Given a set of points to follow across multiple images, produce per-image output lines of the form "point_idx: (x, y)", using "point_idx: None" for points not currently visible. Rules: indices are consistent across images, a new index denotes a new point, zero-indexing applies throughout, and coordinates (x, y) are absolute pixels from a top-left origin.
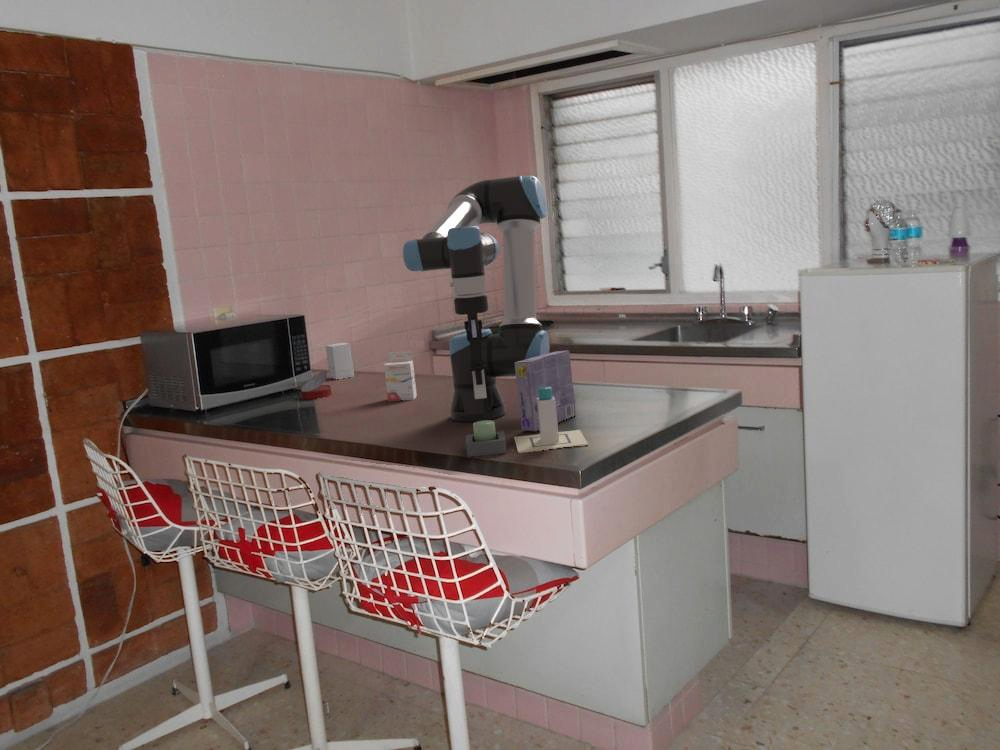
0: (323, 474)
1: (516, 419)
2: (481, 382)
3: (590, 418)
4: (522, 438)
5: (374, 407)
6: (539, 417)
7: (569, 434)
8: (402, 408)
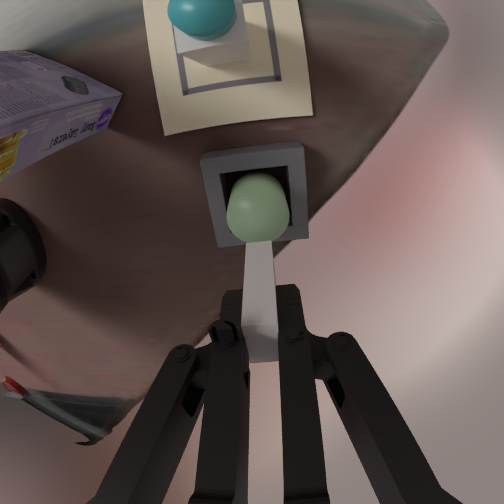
0: None
1: None
2: (299, 293)
3: (45, 13)
4: (184, 112)
5: (21, 355)
6: (246, 50)
7: None
8: (14, 334)
